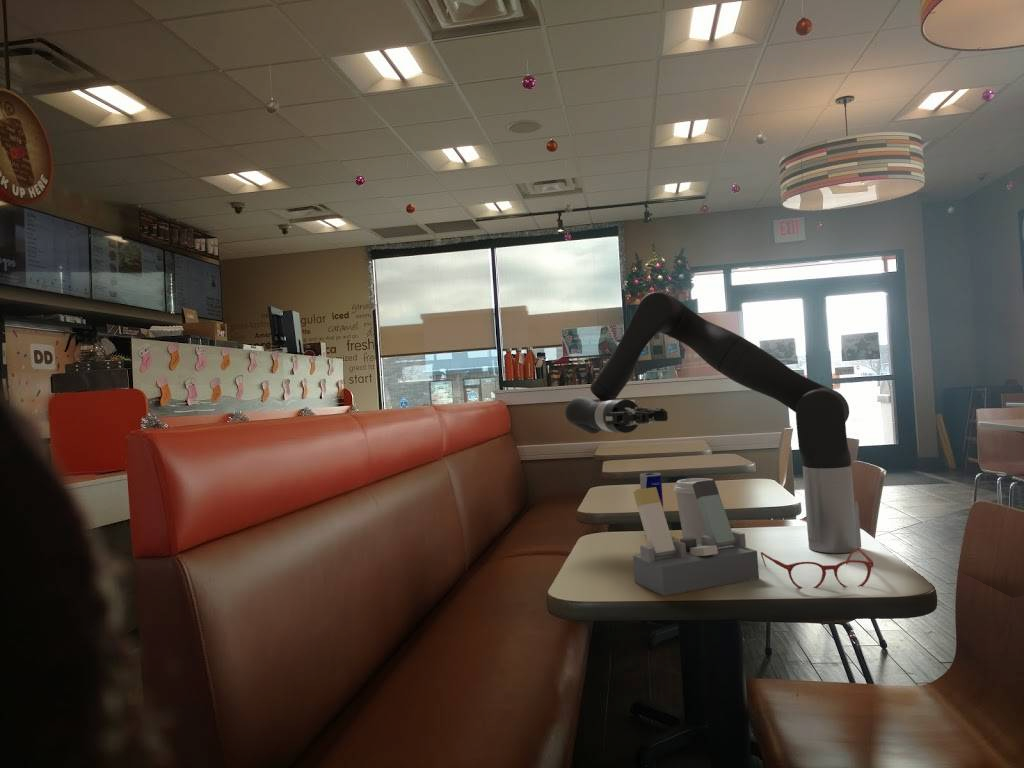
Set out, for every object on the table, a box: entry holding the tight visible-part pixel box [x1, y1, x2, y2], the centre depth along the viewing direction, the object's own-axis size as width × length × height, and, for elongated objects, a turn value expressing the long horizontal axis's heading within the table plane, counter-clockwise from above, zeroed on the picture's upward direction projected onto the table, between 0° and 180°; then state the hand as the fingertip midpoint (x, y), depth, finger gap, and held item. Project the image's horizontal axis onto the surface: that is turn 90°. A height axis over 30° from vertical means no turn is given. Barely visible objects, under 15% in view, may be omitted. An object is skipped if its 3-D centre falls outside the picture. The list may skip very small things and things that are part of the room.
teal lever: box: [692, 479, 736, 548], centre depth 128 cm, size 5×2×13 cm, turn 109°
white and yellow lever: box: [632, 487, 677, 558], centre depth 124 cm, size 5×2×13 cm, turn 109°
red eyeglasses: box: [760, 548, 874, 589], centre depth 121 cm, size 17×16×5 cm
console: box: [632, 530, 760, 597], centre depth 124 cm, size 21×10×8 cm, turn 109°
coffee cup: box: [673, 477, 719, 545], centre depth 146 cm, size 10×10×15 cm
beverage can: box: [639, 472, 665, 533], centre depth 164 cm, size 5×5×15 cm
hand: (656, 416), depth 137 cm, fingers open, 3 cm apart
